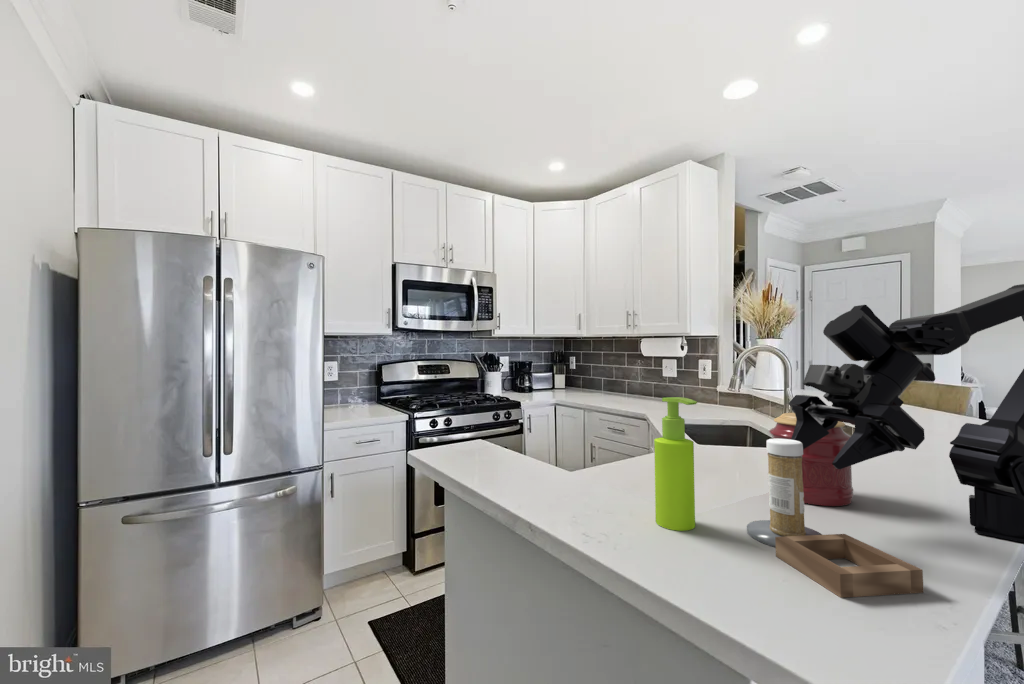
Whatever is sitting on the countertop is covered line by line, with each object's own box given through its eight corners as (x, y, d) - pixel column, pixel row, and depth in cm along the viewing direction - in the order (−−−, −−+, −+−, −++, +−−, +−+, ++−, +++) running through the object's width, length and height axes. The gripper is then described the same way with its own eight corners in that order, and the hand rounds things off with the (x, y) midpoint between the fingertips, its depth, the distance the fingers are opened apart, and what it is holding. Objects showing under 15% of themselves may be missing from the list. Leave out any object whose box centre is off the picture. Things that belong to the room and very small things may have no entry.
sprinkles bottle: (813, 537, 61) (810, 442, 62) (788, 541, 60) (785, 444, 61) (785, 525, 66) (782, 436, 66) (761, 528, 64) (758, 438, 65)
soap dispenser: (682, 536, 63) (679, 399, 64) (647, 520, 69) (645, 396, 70) (709, 528, 66) (706, 398, 67) (673, 514, 72) (671, 395, 73)
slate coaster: (835, 537, 63) (835, 533, 63) (817, 559, 56) (817, 554, 56) (759, 519, 70) (759, 515, 70) (736, 536, 63) (736, 532, 63)
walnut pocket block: (845, 552, 58) (844, 533, 58) (923, 592, 48) (922, 569, 48) (775, 556, 57) (775, 536, 57) (840, 597, 47) (840, 574, 47)
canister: (773, 482, 91) (771, 399, 92) (851, 493, 83) (848, 402, 84) (767, 498, 80) (765, 404, 81) (856, 513, 73) (852, 408, 74)
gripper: (797, 347, 74) (736, 413, 73) (897, 343, 55) (817, 432, 54) (844, 392, 74) (784, 459, 73) (961, 403, 55) (882, 493, 54)
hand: (811, 459), depth 63 cm, fingers open, 9 cm apart
